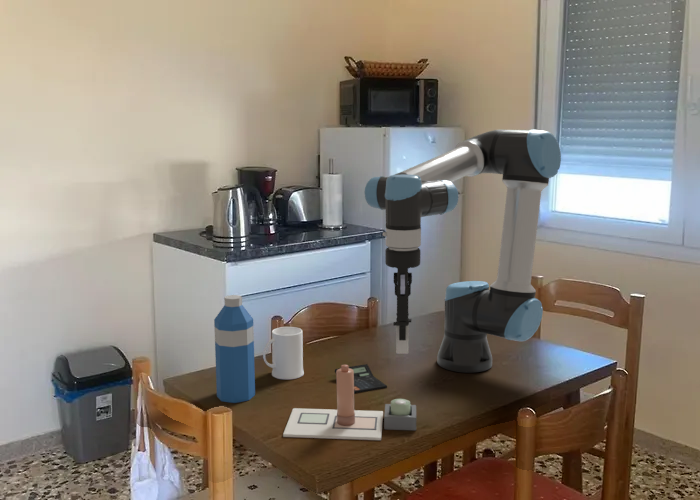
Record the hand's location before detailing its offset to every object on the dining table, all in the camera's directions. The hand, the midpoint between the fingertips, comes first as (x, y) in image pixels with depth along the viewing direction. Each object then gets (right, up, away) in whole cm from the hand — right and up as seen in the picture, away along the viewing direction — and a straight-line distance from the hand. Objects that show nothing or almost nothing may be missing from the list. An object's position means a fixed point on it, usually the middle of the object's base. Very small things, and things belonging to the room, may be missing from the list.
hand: (402, 352), depth 158 cm
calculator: (-9, -12, +27) cm, 31 cm away
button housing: (0, -16, +3) cm, 17 cm away
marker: (-12, -16, +2) cm, 20 cm away
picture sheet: (-15, -16, +2) cm, 22 cm away
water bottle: (-40, -14, +19) cm, 46 cm away
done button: (0, -15, +3) cm, 16 cm away
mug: (-29, -11, +33) cm, 45 cm away
